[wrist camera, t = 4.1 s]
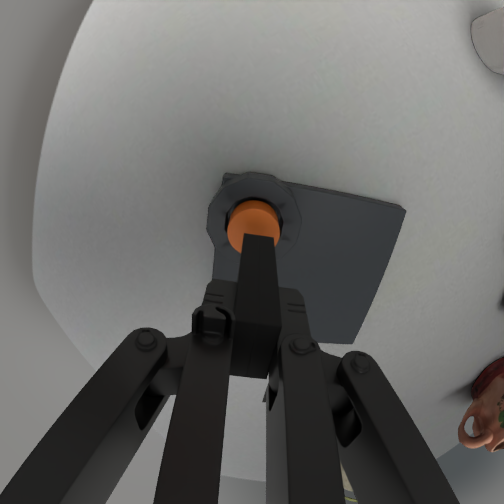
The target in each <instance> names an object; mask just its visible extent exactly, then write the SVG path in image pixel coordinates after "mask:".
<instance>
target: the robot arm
mask: <svg viewBox="0 0 504 504" xmlns="http://www.w3.org/2000/svg"><path fill="white" fill-rule="evenodd" d="M268 372H269V383H268V386H267V389H266V392H265V395H264V398H263V402H266V504H346V503H345V495H344V487H343V479H342V472H341V465H342V467H343V469H344V472H345V474H346V476H347V478H348V481H349V483H350V485H351V488H352V490H353V492H354V495H355V497H356V499H357V502H358V504H460V503H459V501H458V499H457V498H456V496H455V494H454V492H453V490H452V488H451V487H450V484H449V483H448V481H447V479H446V477H445V476H444V474H443V472H442V470H441V468H440V467H439V465H438V463H437V461H436V459H435V458H434V456H433V454H432V452H431V451H430V449H429V447H428V445H427V444H426V442H425V440H424V439H423V437H422V435H421V433H420V432H419V430H418V428H417V427H416V425H415V423H414V422H413V420H412V418H411V417H410V415H409V414H408V412H407V410H406V409H405V407H404V405H403V404H402V402H401V400H400V399H399V397H398V396H397V394H396V392H395V391H394V389H393V388H392V386H391V384H390V383H389V381H388V380H387V378H386V377H385V375H384V373H383V372H382V370H381V369H380V367H379V366H378V364H377V363H376V361H375V360H374V359H373V358H372V357H371V356H370V355H368V354H366V353H364V352H360V351H351V352H348V353H346V354H345V355H344V356H343V358H340V357H337V356H334V355H330V354H328V353H325V352H323V351H322V350H320V347H319V345H318V343H317V342H316V341H315V340H314V339H313V338H312V337H311V332H310V327H309V322H308V317H307V313H306V307H305V302H304V297H303V296H302V294H301V293H300V292H299V291H298V289H292V288H284V287H279V286H278V275H277V265H276V255H275V245H274V237H268V236H261V235H254V234H247V233H244V236H243V243H242V250H241V256H240V263H239V270H238V277H237V282H233V281H226V280H219V279H213V280H212V281H211V282H210V283H209V284H208V285H207V288H206V292H205V295H204V299H203V303H202V306H200V307H198V308H196V309H195V310H194V312H193V314H192V332H191V333H189V334H188V335H185V336H182V337H176V338H166V337H165V336H164V334H163V333H162V332H160V331H159V330H157V329H153V328H139V329H136V330H134V331H133V332H131V333H130V334H129V335H128V336H127V337H126V338H125V339H124V340H123V342H122V343H121V344H120V345H119V346H118V347H117V348H116V350H115V351H114V352H113V353H112V354H111V355H110V357H109V358H108V359H107V360H106V361H105V362H104V364H103V365H102V366H101V367H100V368H99V369H98V371H97V372H96V373H95V374H94V375H93V377H92V378H91V379H90V380H89V381H88V383H87V384H86V385H85V386H84V387H83V388H82V390H81V391H80V392H79V393H78V395H77V396H76V397H75V398H74V399H73V401H72V402H71V403H70V404H69V406H68V407H67V408H66V409H65V410H64V412H63V413H62V414H61V415H60V417H59V418H58V419H57V420H56V422H55V423H54V424H53V425H52V427H51V428H50V429H49V430H48V432H47V433H46V434H45V436H44V437H43V438H42V439H41V441H40V442H39V443H38V445H37V446H36V447H35V448H34V450H33V451H32V452H31V454H30V455H29V456H28V458H27V459H26V460H25V461H24V463H23V464H22V465H21V467H20V468H19V470H18V471H17V472H16V474H15V475H14V476H13V478H12V479H11V481H10V482H9V483H8V485H7V486H6V487H5V489H4V490H3V492H2V493H1V494H0V504H105V503H106V501H107V500H108V498H109V497H110V495H111V493H112V492H113V490H114V488H115V487H116V485H117V483H118V482H119V480H120V478H121V477H122V475H123V473H124V472H125V470H126V468H127V467H128V465H129V463H130V462H131V460H132V458H133V457H134V455H135V453H136V452H137V450H138V448H139V447H140V445H141V443H142V442H143V440H144V438H145V437H146V435H147V433H148V432H149V430H150V428H151V427H152V425H153V423H154V422H155V420H156V418H157V417H158V415H159V413H160V412H161V410H162V408H163V407H164V405H165V403H166V402H167V400H168V398H169V397H170V395H176V399H175V403H174V407H173V412H172V416H171V420H170V425H169V429H168V434H167V438H166V443H165V448H164V452H163V457H162V462H161V466H160V472H159V476H158V481H157V486H156V492H155V498H154V503H153V504H218V495H219V483H220V471H221V460H222V449H223V438H224V427H225V416H226V406H227V395H228V385H229V375H233V376H241V377H250V378H260V379H267V375H268ZM340 462H341V465H340Z"/></svg>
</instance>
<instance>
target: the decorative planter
mask: <svg viewBox="0 0 504 504" xmlns="http://www.w3.org/2000/svg"><path fill="white" fill-rule="evenodd" d="M471 395H472V398H473V402H472V404H471V405H470V407H469V408H468V409H467V411H466V413H465V415H464V417H463V420H462V422H461V424H460V426H459V428H458V437H459V442H461V443H462V444H463V445H465V446H466V447H468V448H478V447H481V446H482V445H485V447H486V449H487V450H488V451H490V452H495V451H498V450H500V449H504V358H501V359H499V360H497V361H495V362H494V363H492V364H491V365H490V366H488V367H487V368H486V369H485V370H484V371H483V372H482V374H481V375H480V376H479V378H478V379H477V380H476V382H475V383H474V385H473V387H472V391H471ZM470 416H474V422H473V427H472V428H473V433H474V436H475V437H470V436H469V435H468V434H467V433H466V432H465V430H464V425H465V422H466V421H467V419H468V418H469V417H470Z"/></svg>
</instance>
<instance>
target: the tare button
mask: <svg viewBox="0 0 504 504" xmlns="http://www.w3.org/2000/svg"><path fill="white" fill-rule="evenodd" d="M244 233H247V234H254V235H261V236H268V237H274V245H275V246H276V244H277V243H278V240H279V237H280V228H279V223H278V217H277V214H276V212H275V211H274V209H273V208H272V207H271V206H270V205H268V204H267V203H265V202H262V201H258V200H249V201H245V202H243V203H241V204H239V205H238V206H237V207H236V208H235V209H234V210H233V212H232V214H231V217H230V220H229V224H228V229H227V235H228V239H229V242H230V244H231V245H232V247H233V248H234V249H235V250H236V251H238V252H239V253H241V250H242V243H243V236H244Z"/></svg>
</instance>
